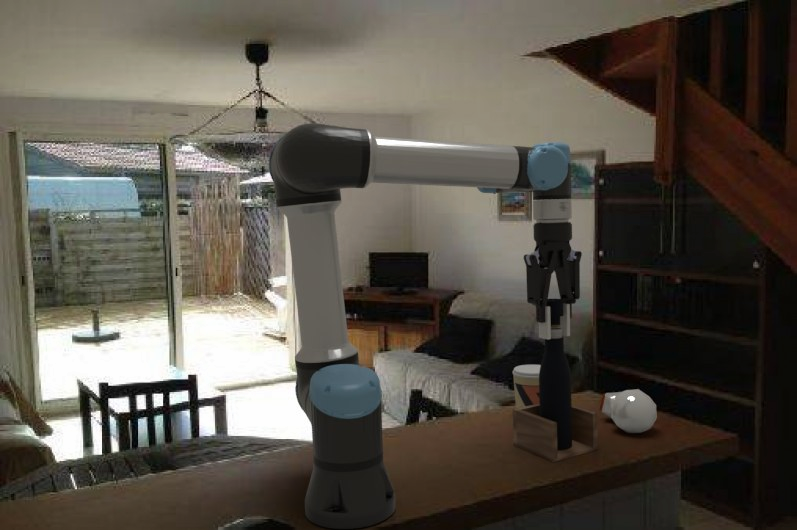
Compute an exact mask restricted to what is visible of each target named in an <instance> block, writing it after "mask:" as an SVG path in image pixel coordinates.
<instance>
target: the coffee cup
mask: <svg viewBox="0 0 797 530" xmlns="http://www.w3.org/2000/svg"><path fill="white" fill-rule="evenodd" d="M540 366H541V364H521V365H517V366H515V367H514V368H513V370H512V375H513V386H514V387H513V389H514V390H513V391H514V399H515V400H514V401H515V409H516V408H521V407H525V406H530V405H534V404H539V372H540Z"/></svg>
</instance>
